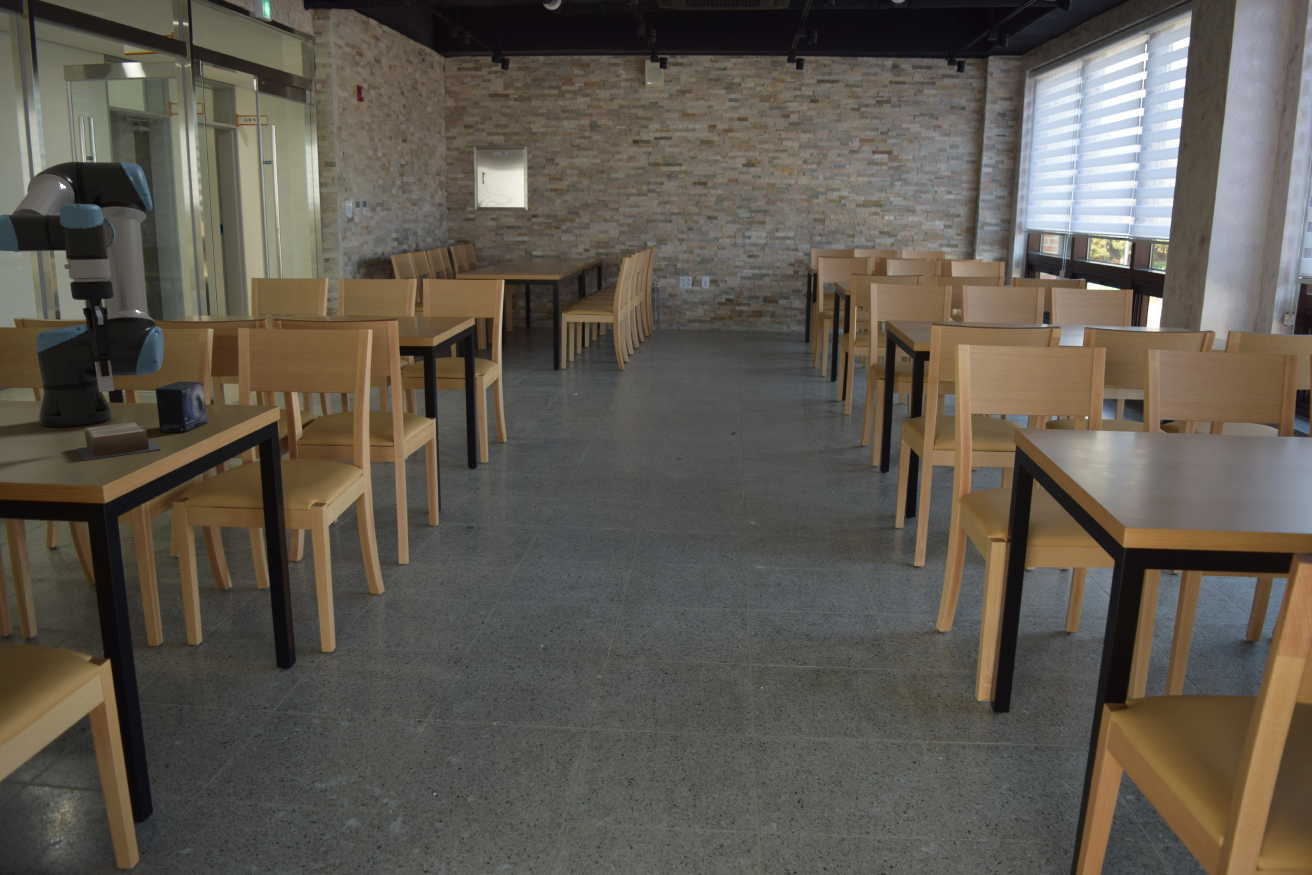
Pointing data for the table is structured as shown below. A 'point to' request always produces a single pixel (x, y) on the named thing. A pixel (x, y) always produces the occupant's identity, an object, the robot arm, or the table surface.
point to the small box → (181, 406)
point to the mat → (89, 455)
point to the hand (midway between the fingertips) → (106, 390)
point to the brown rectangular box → (116, 439)
